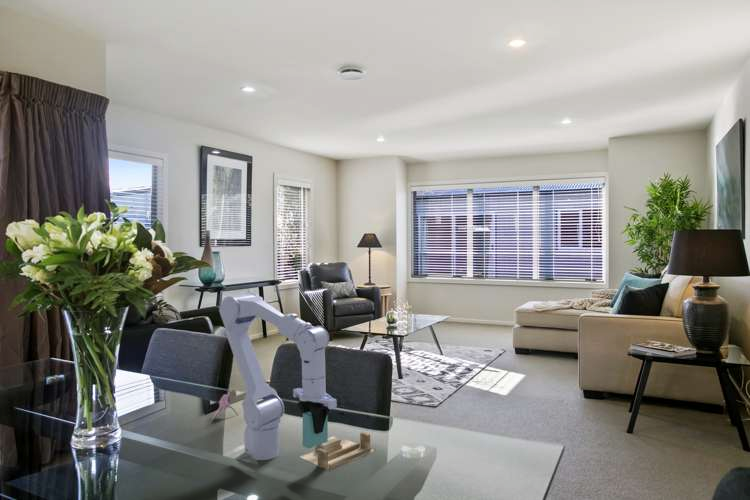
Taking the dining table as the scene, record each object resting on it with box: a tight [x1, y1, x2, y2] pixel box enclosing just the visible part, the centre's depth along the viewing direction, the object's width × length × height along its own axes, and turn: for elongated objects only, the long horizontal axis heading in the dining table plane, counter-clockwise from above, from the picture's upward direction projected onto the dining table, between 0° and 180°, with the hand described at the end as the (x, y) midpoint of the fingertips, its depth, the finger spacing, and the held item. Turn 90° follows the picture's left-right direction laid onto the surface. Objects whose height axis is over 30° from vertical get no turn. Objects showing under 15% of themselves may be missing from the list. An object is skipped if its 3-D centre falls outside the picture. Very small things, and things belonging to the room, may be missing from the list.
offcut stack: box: [314, 435, 342, 454], centre depth 138 cm, size 4×7×2 cm, turn 135°
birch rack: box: [299, 431, 375, 472], centre depth 136 cm, size 12×16×5 cm
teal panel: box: [302, 411, 329, 449], centre depth 128 cm, size 2×6×8 cm, turn 137°
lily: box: [211, 386, 239, 421], centre depth 170 cm, size 12×12×10 cm
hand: (314, 431), depth 128 cm, fingers closed on teal panel, 2 cm apart
